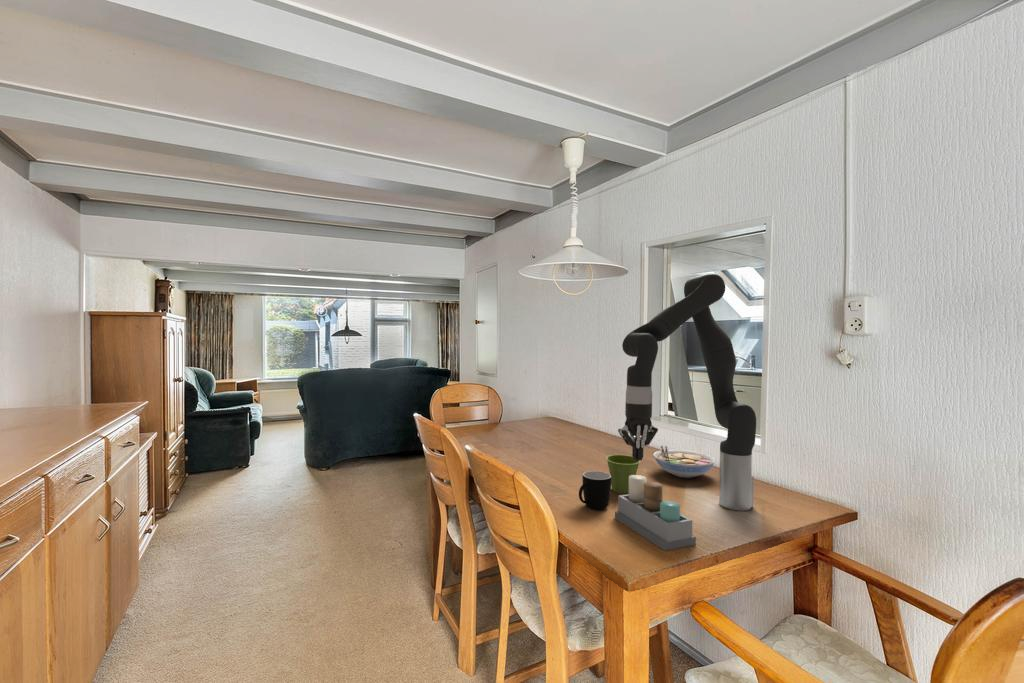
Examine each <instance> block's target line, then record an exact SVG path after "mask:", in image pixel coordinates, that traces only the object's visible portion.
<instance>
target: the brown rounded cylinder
mask: <svg viewBox="0 0 1024 683" xmlns="http://www.w3.org/2000/svg"><path fill="white" fill-rule="evenodd" d="M663 488H664V487H663V485H662V484H661V483H659V482H652V481H646V483H644V509H646V510H648V511H653V512H658V511H660V502H662V501H663Z"/></svg>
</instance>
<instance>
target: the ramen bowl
mask: <svg viewBox="0 0 1024 683" xmlns="http://www.w3.org/2000/svg"><path fill="white" fill-rule="evenodd" d="M660 448H661V449H660V450H657V451H654V453H653V457H654V459H655V461H656V463H657V464H658V465H659V466H660V468H662V469H663V470H664V471H666V472H667V473H669V474H672V475H673V476H675V477H678V478H680V479H681V478H682V479H691V478H695V477H699V476H701V475H704V474H706V473H708V472H709V471H710V470H711V469H712V467H713V466H714V464H715V462H716V458H715V457H713V456H712V455H708V454H706V453H703V452H699V451H694V450H686V449H668V446H667V445H665V447H663V445H660ZM664 448H665V449H664Z"/></svg>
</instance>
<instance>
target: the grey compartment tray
mask: <svg viewBox="0 0 1024 683" xmlns="http://www.w3.org/2000/svg"><path fill="white" fill-rule="evenodd" d="M617 500H618V501H617V502H618V505H617V508H618V510H614V518H615V520H617V521H619V522H620V523H622V524H624V525H625V526H626V527H628V528H630V529H631V530H632V531H634V532H636V533H637V534H639V535H640V536H642V538H645V539H646V540H648V541H649V542H651V543H652V544H653V545H655V546H657V547H658V548H659V549H661V550H663V551H664V552H665V551H671V550H675V549H680V548H684V547H690V546H695V545H697V544H696V541H697V538H696V536H695V535H693V519H691V518H689V517H688V516H685V515H683V514H682V513H680V521H676V522H670V523H668V522H666V521H665V520H663V519H661V518H660V511H658V512H653V511H648V510H646V509H644V502H642V503H637V502H632V501H630V500H629V494H627V493H626V494H620V495H618V496H617Z"/></svg>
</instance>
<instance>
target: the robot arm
mask: <svg viewBox="0 0 1024 683" xmlns="http://www.w3.org/2000/svg"><path fill="white" fill-rule="evenodd" d="M683 286H684V287H683V294H684V297H683V298H682V299H680V300H678V301H677V302H675V303H673V304H671V305H669V306H667V307H665V308H664V309H662V311H660V312H659V313H658V314H657V315H655V316H654V317H653V318H652V319H650V321H648V322H647V323H645V324H642V325H641V326H639V327H637V328H635V329H634V330H632V331H630V332H629V333H628V334H627V335H625V337H624V339H623V341H622V345H621V346H622V351H623V352H624V354H625V355H627V356H629V357H632V358H636V360H635V364H634V365H633V364H632V365H630V366H628V368H627V372H626V388H625V406H624V407H625V410H624V412H625V415H624V416H625V422H624V426H622V428H618V429H617V432H618V434H619V435H620V436H621V438H622V439H623V441H624V442H625V444H626V445H627V446H630V447H631V449H632V454H631V456H632V457H633V458H634V460H636V461H643V458H644V448H645V447H647V446H649V445H650V444H651V443H652V441H653V439H654V438H655V437H656V435H657V433H658V431H659V428H658V427H655V426H654V425H652V419H651V418H652V417H653V390H652V385H653V384H652V380H653V379H652V376H653V375H652V374H653V369H654V367H655V363H656V359H657V355H658V350H659V344H658V342H662V341H665V340H666V339H667V338H668V337H670V336H671V335H672V334H673V333H674V332H675V331H677V329H679V328H680V327H681V326H683V324H685V323H686V322H687V321H689V320H690V319H691V318H692V320H693V323H694V327H695V331H696V333H697V337H698V340H699V346H700V349H701V354H702V358H703V361H704V366H705V368H706V372H707V377H708V381H709V385H710V388H711V394H712V399H713V401H712V402H713V408H714V414H715V419H716V421H717V422H718V424H719V425H720V427H722V428H724V429H727V436H726V437H727V438H726V439H725V440H722V441H721V442H720V444H719V486H718V487H719V489H718V490H719V493H718V494H719V495H718V496H719V497H718V504H719V505H721V507H723V508H725V509H729V510H733V511H740V512H741V511H749V510H751V508H754V497H755V496H754V495H755V494H754V489H755V488H754V487H755V486H754V485H755V484H754V483H755V479H754V477H753V476H752V474H753V473H752V471H753V469H752V468H753V467H752V466H753V465H752V464H753V462H752V461H753V458H752V457H753V448H754V447H755V444H756V435H757V416H756V411H755V410H754V408H753V407H752V406H750V405H748V404H746V403H741V402H739V401H738V398H737V397H736V392H735V387H734V378H735V377H734V376H735V373H736V366H737V360H736V354H735V349H734V346H733V343H732V341H731V338H730V336H728V334H727V333H726V332H725V331H724V330H723V328H722V327H721V326H720V325H719V323H717V322H716V319H715V318H714V317H713V315H712V312H711V309H710V308H711V307H710V306H711V305H713V304H715V303H717V302H718V301H720V300H721V299H722V298H723V296H724V294H725V292H726V283H725V280H724V279H723V277H722V276H721V275H719V274H716V273H706V274H705V273H704V274H703V275H702V274H701V275H698V276H694V277H690V278H689V279H687V280H686V282H685V283H684V285H683Z"/></svg>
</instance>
